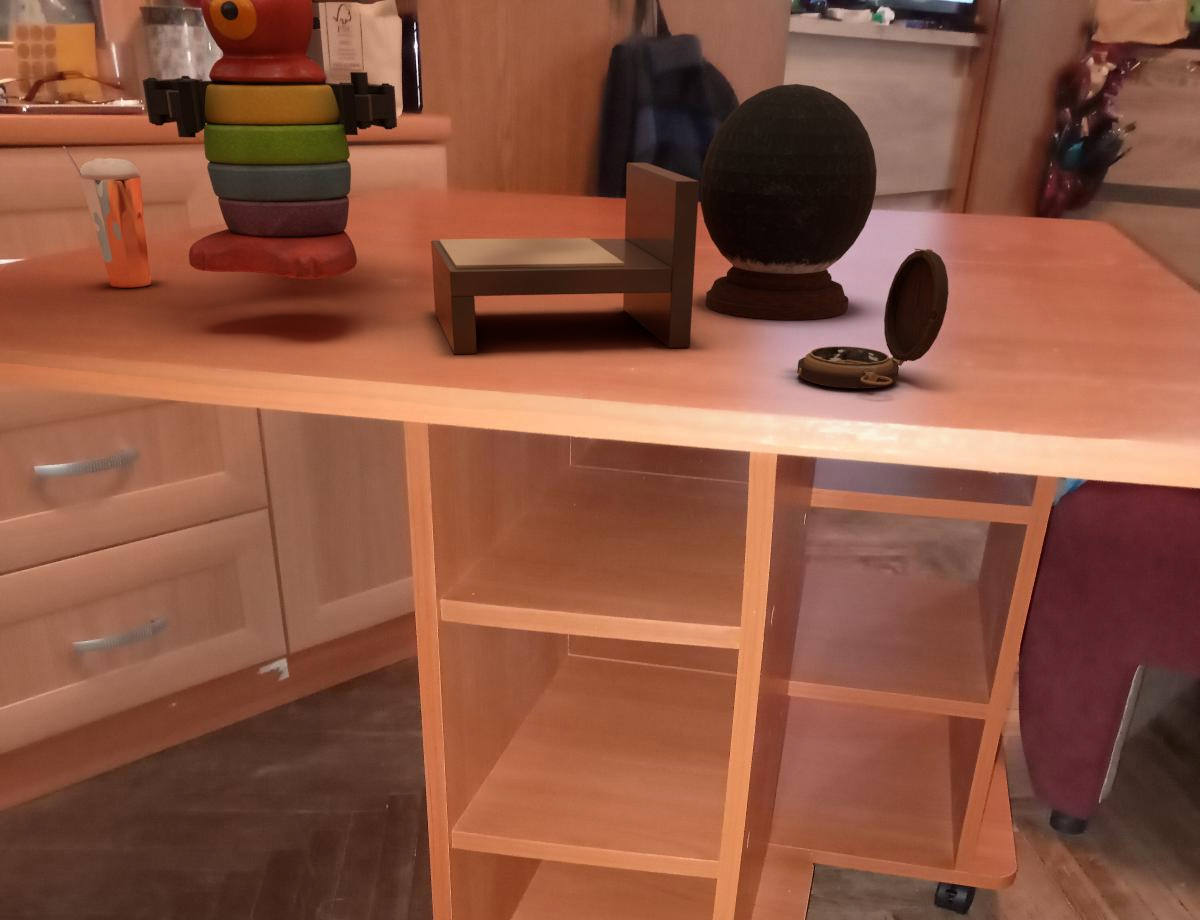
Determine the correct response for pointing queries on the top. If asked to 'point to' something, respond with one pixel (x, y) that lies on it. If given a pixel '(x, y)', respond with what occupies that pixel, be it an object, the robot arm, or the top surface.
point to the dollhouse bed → (585, 263)
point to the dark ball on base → (786, 202)
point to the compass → (890, 329)
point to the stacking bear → (273, 147)
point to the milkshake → (117, 218)
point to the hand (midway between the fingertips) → (269, 108)
